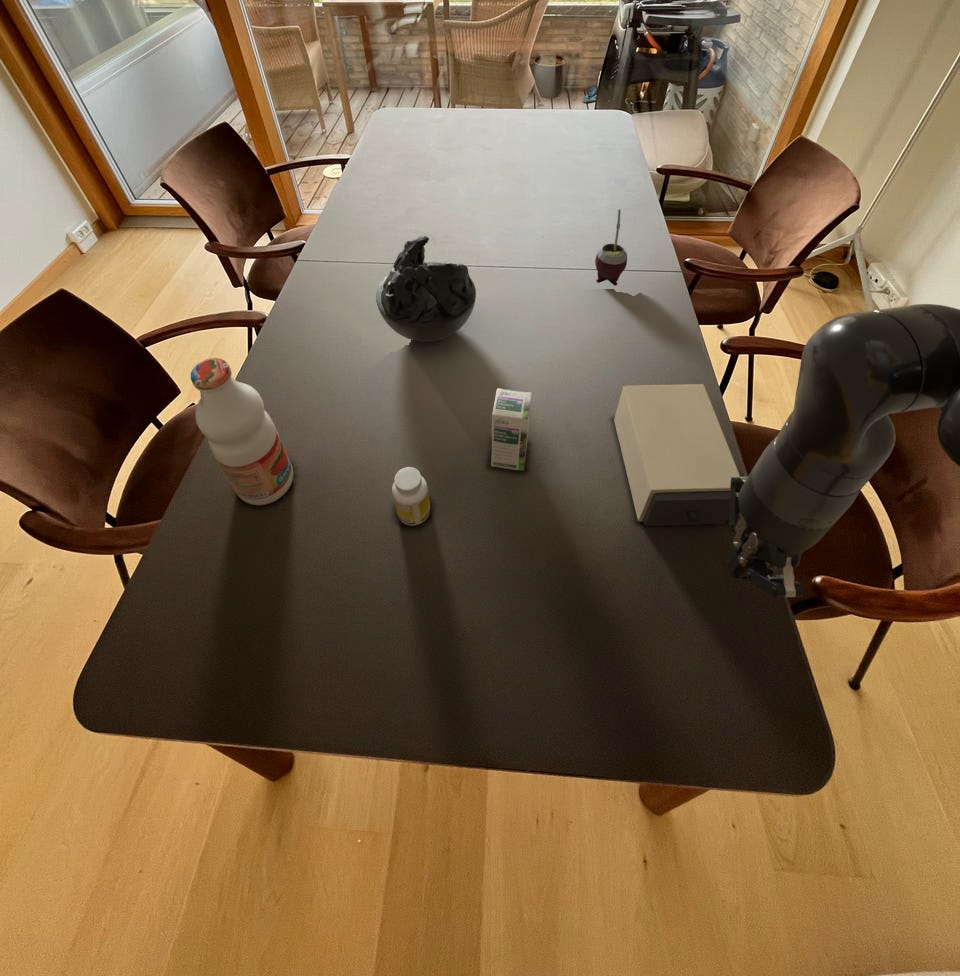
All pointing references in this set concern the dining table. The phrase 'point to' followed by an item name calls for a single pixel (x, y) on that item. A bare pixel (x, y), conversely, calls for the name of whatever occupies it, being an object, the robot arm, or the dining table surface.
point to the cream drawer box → (671, 442)
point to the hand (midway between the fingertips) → (736, 569)
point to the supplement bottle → (411, 496)
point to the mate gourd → (611, 260)
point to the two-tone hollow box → (688, 508)
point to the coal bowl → (425, 295)
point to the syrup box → (510, 428)
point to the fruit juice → (241, 434)
